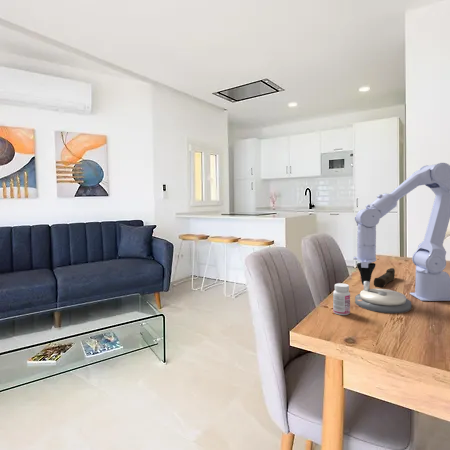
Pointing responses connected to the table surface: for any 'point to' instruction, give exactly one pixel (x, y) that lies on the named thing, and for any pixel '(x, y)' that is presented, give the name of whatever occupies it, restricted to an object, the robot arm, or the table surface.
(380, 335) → the table surface
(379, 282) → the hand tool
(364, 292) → the dial
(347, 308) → the pill bottle
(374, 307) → the dial base
